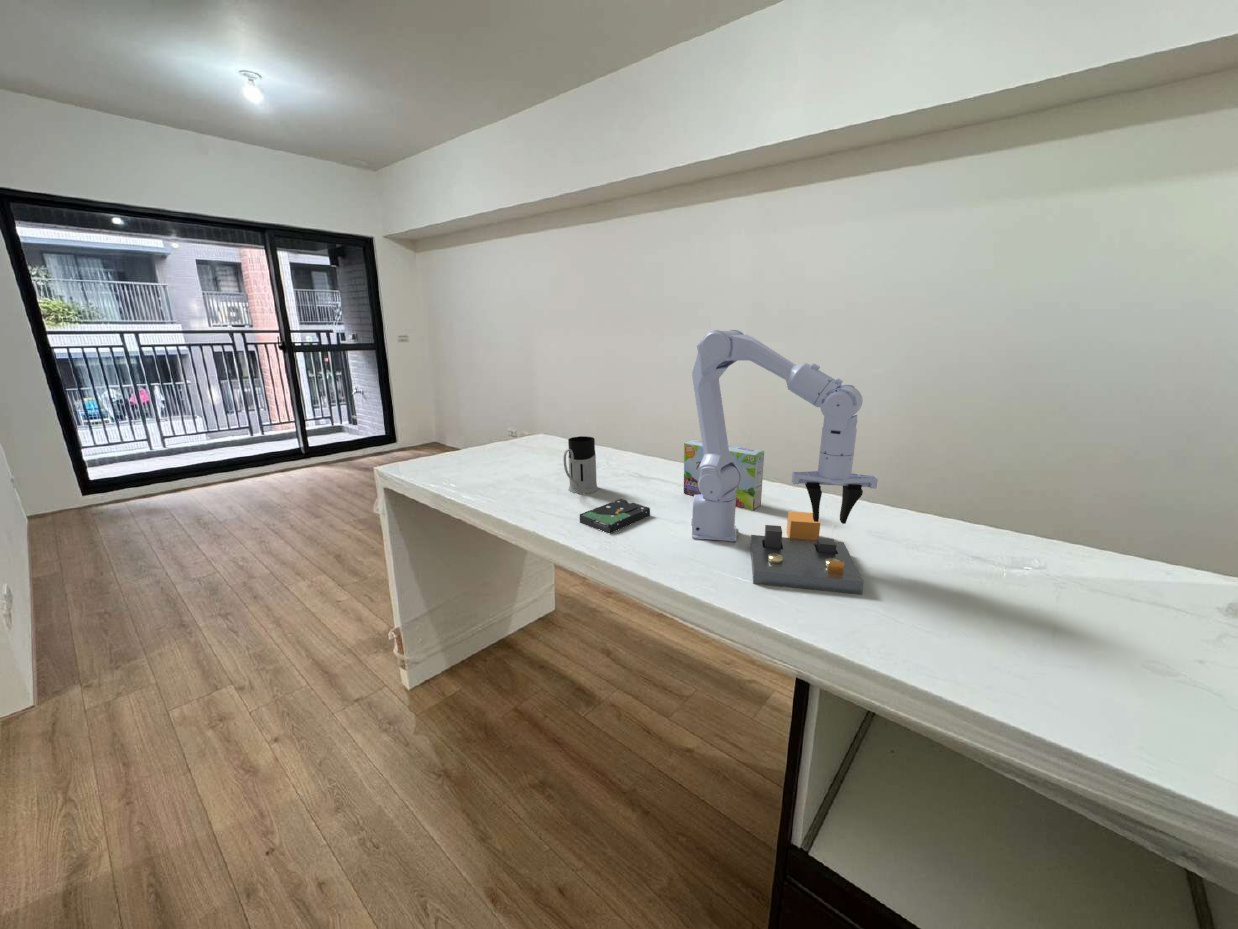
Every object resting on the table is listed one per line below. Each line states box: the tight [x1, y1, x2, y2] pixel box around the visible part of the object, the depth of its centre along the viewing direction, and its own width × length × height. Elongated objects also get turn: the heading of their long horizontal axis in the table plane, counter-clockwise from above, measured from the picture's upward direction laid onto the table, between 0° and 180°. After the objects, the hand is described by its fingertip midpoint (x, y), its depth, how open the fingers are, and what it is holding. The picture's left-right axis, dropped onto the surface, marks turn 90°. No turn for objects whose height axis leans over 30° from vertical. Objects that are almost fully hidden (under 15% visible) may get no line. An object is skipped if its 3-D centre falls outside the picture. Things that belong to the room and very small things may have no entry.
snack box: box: [683, 439, 765, 512], centre depth 126 cm, size 21×6×15 cm, turn 49°
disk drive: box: [579, 498, 651, 534], centre depth 115 cm, size 10×3×15 cm
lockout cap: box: [786, 510, 821, 540], centre depth 102 cm, size 6×6×5 cm
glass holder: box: [563, 435, 599, 495], centre depth 134 cm, size 9×14×15 cm, turn 156°
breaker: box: [764, 524, 783, 549], centre depth 94 cm, size 3×3×4 cm
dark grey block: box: [816, 537, 837, 554], centre depth 92 cm, size 3×3×4 cm
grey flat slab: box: [750, 534, 865, 595], centre depth 90 cm, size 18×16×4 cm
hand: (828, 520), depth 91 cm, fingers open, 4 cm apart
